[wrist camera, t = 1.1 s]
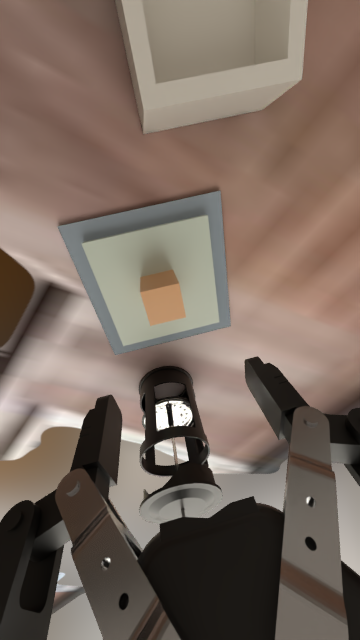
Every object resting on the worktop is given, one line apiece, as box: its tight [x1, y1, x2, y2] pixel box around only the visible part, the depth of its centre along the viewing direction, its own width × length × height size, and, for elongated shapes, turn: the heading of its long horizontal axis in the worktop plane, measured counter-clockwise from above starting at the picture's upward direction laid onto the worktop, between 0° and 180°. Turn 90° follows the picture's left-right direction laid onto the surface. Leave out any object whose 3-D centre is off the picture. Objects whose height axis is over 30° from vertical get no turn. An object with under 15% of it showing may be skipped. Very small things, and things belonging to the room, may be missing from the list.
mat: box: [58, 191, 231, 355], centre depth 27 cm, size 18×18×1 cm
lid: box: [81, 215, 219, 346], centre depth 25 cm, size 14×14×6 cm
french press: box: [139, 366, 223, 524], centre depth 27 cm, size 12×9×23 cm
